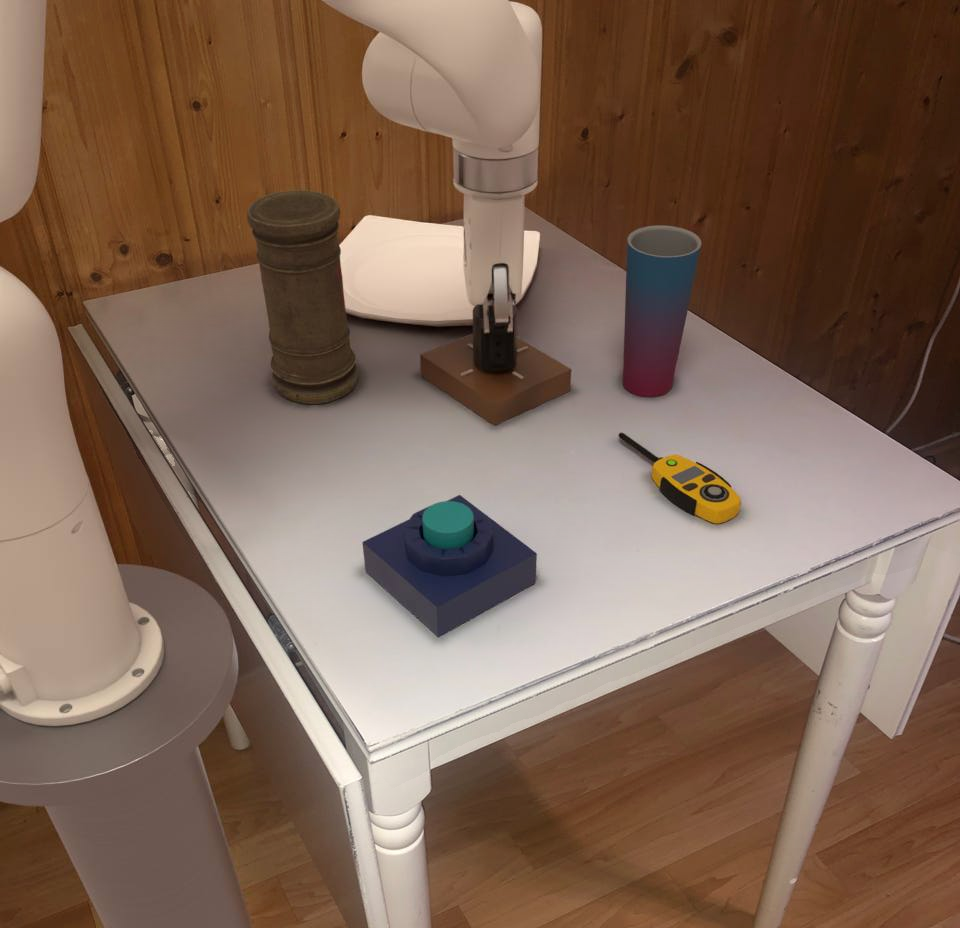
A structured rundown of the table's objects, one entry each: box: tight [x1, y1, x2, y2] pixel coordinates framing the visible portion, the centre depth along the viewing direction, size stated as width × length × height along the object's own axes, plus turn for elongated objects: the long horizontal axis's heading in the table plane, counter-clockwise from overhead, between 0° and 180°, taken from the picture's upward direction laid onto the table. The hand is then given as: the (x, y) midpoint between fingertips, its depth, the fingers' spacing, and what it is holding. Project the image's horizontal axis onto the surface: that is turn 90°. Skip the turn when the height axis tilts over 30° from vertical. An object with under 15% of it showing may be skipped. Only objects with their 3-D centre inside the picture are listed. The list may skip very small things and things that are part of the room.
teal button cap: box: [422, 500, 474, 549], centre depth 83 cm, size 4×4×2 cm
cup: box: [622, 224, 702, 398], centre depth 102 cm, size 7×7×15 cm
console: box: [419, 332, 572, 426], centre depth 107 cm, size 10×12×3 cm
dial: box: [472, 297, 519, 372], centre depth 104 cm, size 4×4×6 cm
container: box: [246, 189, 359, 405], centre depth 102 cm, size 9×9×18 cm
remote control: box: [618, 432, 742, 524], centre depth 95 cm, size 5×2×15 cm
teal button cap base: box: [362, 494, 538, 638], centre depth 85 cm, size 10×10×5 cm
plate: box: [339, 214, 541, 327], centre depth 123 cm, size 24×24×3 cm
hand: (494, 351), depth 105 cm, fingers closed on dial, 4 cm apart
